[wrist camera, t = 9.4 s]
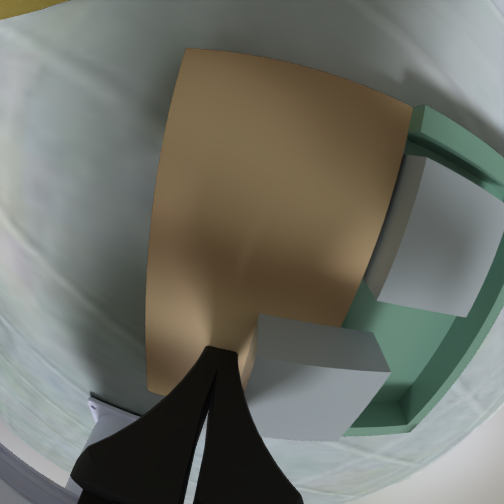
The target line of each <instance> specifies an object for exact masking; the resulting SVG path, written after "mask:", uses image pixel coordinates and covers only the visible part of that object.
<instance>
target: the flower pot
mask: <svg viewBox="0 0 504 504" xmlns="http://www.w3.org/2000/svg"><path fill="white" fill-rule="evenodd" d="M65 1H69V0H0V20H1V19H6V18H10V17H14V16H18V15H22V14H26V13H30V12H33V11H37V10H41V9H44V8H47V7H49V6H52V5H56V4H59V3H62V2H65Z"/></svg>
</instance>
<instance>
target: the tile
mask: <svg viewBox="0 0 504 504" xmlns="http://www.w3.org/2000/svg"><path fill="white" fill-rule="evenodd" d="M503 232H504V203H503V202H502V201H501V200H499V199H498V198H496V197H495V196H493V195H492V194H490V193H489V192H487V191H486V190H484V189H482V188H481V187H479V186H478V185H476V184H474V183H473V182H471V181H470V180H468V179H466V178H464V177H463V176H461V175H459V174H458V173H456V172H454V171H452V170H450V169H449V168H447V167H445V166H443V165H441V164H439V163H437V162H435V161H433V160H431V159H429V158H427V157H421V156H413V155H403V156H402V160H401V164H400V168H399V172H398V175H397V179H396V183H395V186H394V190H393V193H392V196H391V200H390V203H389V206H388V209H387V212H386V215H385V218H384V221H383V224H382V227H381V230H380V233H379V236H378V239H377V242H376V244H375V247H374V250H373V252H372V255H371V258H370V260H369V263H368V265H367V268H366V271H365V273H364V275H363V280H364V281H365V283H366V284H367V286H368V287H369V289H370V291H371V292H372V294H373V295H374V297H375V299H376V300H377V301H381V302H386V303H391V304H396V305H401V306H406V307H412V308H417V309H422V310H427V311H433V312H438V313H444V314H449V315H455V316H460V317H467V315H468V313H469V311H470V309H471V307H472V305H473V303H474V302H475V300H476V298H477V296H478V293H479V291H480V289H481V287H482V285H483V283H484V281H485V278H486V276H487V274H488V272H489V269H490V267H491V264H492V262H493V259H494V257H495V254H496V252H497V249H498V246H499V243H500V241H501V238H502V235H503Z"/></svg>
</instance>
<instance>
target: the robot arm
mask: <svg viewBox="0 0 504 504" xmlns="http://www.w3.org/2000/svg"><path fill="white" fill-rule="evenodd" d="M87 402H88V404H89V407H90V410H91V412H92V415H93V417H94V420H95V422H96V425H95V427H94V429H93V430H92V432H91V434H90V436H89V438H88V440H87V442H86V444H85V446H84V448H83V450H82V452H81V455H80V456H79V458H78V459H77V461H76V463H75V465H74V467H73V470H72V472H71V474H70V478H69V480H68V482H67V485H66V487H65V488H63V487H62V486H60V485H58V484H57V483H55V482H53V481H52V480H50V479H49V478H47V477H45V476H44V475H42V474H41V473H39V472H38V471H36V470H35V469H34V468H32V467H31V466H29V465H28V464H26V463H25V462H24V461H22V460H21V459H20V458H18V457H17V456H16V455H15V454H13V453H12V452H11V451H10V450H8V449H7V448H6V447H5V446H3V445H2V444H1V443H0V504H184V499H185V494H186V490H187V485H188V480H189V476H190V471H191V467H192V462H193V458H194V453H195V449H196V446H197V442H198V439H199V436H200V433H201V430H202V427H203V425H204V422H205V419H206V416H207V413H208V420H207V429H206V439H205V447H204V453H203V458H202V463H201V468H200V472H199V477H198V482H197V487H196V492H195V497H194V501H193V504H304V503H303V499H302V496H301V494H300V493H299V492H298V491H297V490H296V488H295V487H294V486H293V485H292V484H291V483H290V481H289V480H288V479H287V478H286V476H285V475H284V474H283V472H282V471H281V469H280V468H279V467H278V465H277V464H276V462H275V461H274V459H273V457H272V456H271V454H270V453H269V451H268V449H267V448H266V446H265V444H264V442H263V440H262V438H261V436H260V434H259V432H258V430H257V428H256V426H255V423H254V421H253V418H252V416H251V413H250V410H249V408H248V405H247V402H246V398H245V395H244V391H243V387H242V383H241V378H240V373H239V366H238V354H237V352H235V351H230V350H226V349H222V348H217V347H213V346H209V345H208V346H205V348H204V350H203V352H202V353H201V355H200V357H199V358H198V360H197V361H196V363H195V364H194V365H193V367H192V368H191V369H190V371H189V372H188V373H187V374H186V375H185V377H184V378H183V379H182V380H181V381H180V382H179V383H178V385H177V386H176V387H175V388H174V389H173V390H172V391H171V392H170V393H169V394H168V395H167V396H166V397H165V398H164V399H162V400H161V401H160V402H159V403H158V404H157V405H156V406H154V407H153V408H152V409H151V410H149V411H148V412H147V413H145V414H144V415H143V416H141V417H139V416H136V415H134V414H131V413H128V412H126V411H123V410H121V409H118V408H116V407H113V406H111V405H108V404H106V403H104V402H101V401H99V400H97V399H95V398H92V397H89V398H88V400H87ZM208 410H209V411H208Z"/></svg>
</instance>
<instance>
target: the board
mask: <svg viewBox="0 0 504 504" xmlns="http://www.w3.org/2000/svg"><path fill="white" fill-rule="evenodd" d="M412 110H413V107H411V106H409V105H407V104H405V103H403V102H401V101H399V100H396V99H394V98H392V97H390V96H388V95H385V94H383V93H381V92H378V91H376V90H373V89H371V88H368V87H366V86H363V85H361V84H358V83H355V82H353V81H350V80H347V79H344V78H341V77H338V76H335V75H332V74H329V73H326V72H322V71H319V70H316V69H312V68H309V67H305V66H301V65H297V64H293V63H289V62H285V61H280V60H275V59H271V58H265V57H260V56H254V55H248V54H242V53H235V52H227V51H218V50H208V49H195V48H186V49H185V53H184V56H183V59H182V63H181V66H180V70H179V73H178V77H177V81H176V85H175V89H174V93H173V97H172V101H171V105H170V109H169V114H168V118H167V123H166V128H165V133H164V138H163V143H162V148H161V154H160V160H159V166H158V172H157V178H156V185H155V192H154V200H153V208H152V217H151V226H150V237H149V249H148V263H147V281H146V315H145V337H146V371H147V388H148V391H150V392H153V393H156V394H159V395H163V396H167V395H168V394H169V393H170V392H171V391H172V390H173V389H174V388H175V387H176V386H177V385H178V383H179V382H180V381H181V380H182V379H183V378H184V377H185V375H186V374H187V373H188V372H189V371H190V369H191V368H192V367H193V365H194V364H195V363H196V361H197V360H198V358H199V357H200V355H201V353H202V352H203V350H204V348H205V346H208V345H209V346H213V347H217V348H222V349H226V350H230V351H235V352H237V354H238V366H239V373H240V378H241V375H242V372H243V368H244V365H245V362H246V358H247V355H248V351H249V348H250V344H251V341H252V337H253V334H254V330H255V327H256V323H257V320H258V316H259V313H261V314H266V315H271V316H276V317H281V318H287V319H292V320H297V321H303V322H309V323H315V324H320V325H326V326H333V327H339V328H341V325H342V323H343V321H344V319H345V317H346V315H347V313H348V310H349V308H350V306H351V304H352V301H353V299H354V297H355V295H356V292H357V290H358V288H359V285H360V283H361V280H362V278H363V275H364V273H365V271H366V268H367V265H368V263H369V260H370V258H371V255H372V252H373V250H374V247H375V244H376V242H377V239H378V236H379V233H380V230H381V227H382V224H383V221H384V218H385V215H386V212H387V209H388V206H389V203H390V200H391V196H392V193H393V190H394V186H395V183H396V179H397V175H398V172H399V168H400V164H401V160H402V156H403V152H404V148H405V144H406V139H407V135H408V130H409V125H410V120H411V115H412Z"/></svg>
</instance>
